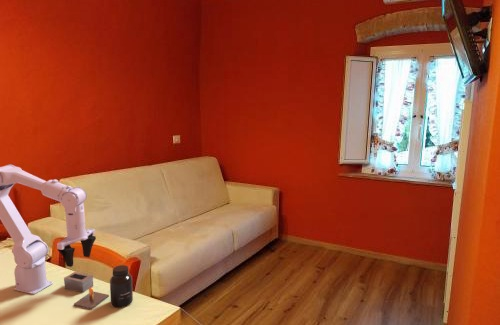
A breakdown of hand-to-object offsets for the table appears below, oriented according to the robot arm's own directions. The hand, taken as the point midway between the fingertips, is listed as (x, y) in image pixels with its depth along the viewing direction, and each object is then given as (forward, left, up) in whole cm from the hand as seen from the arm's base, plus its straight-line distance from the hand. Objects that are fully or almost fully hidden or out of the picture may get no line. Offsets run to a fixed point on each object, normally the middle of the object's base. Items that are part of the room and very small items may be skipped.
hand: (78, 261), depth 120 cm
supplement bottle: (+19, -2, -11) cm, 22 cm away
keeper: (+9, -5, -10) cm, 15 cm away
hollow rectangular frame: (-1, +1, -10) cm, 10 cm away
